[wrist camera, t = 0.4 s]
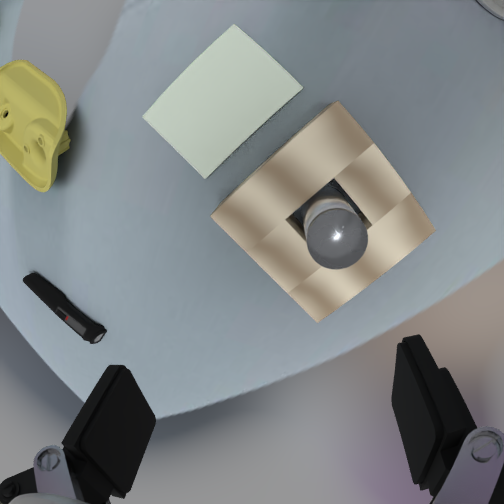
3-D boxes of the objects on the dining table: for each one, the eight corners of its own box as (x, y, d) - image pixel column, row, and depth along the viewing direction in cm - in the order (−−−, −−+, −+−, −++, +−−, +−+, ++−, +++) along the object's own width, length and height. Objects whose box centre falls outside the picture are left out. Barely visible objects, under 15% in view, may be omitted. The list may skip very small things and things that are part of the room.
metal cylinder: (326, 176, 33) (342, 197, 24) (355, 210, 34) (379, 243, 25) (291, 206, 35) (293, 238, 25) (321, 239, 36) (332, 280, 27)
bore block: (329, 103, 30) (337, 100, 25) (418, 216, 33) (435, 230, 29) (219, 203, 35) (210, 216, 31) (314, 299, 39) (317, 322, 34)
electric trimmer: (36, 262, 42) (24, 271, 39) (109, 328, 44) (99, 340, 41) (31, 278, 43) (19, 287, 40) (100, 340, 46) (91, 352, 43)
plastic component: (-20, 130, 31) (-22, 74, 24) (16, 109, 36) (21, 55, 29) (50, 206, 33) (52, 145, 26) (90, 175, 38) (103, 117, 31)
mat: (235, 26, 27) (234, 23, 27) (302, 88, 30) (303, 87, 29) (145, 116, 32) (142, 116, 31) (206, 177, 34) (205, 179, 34)
